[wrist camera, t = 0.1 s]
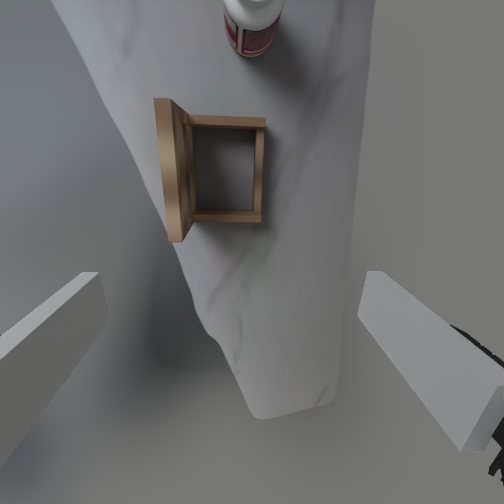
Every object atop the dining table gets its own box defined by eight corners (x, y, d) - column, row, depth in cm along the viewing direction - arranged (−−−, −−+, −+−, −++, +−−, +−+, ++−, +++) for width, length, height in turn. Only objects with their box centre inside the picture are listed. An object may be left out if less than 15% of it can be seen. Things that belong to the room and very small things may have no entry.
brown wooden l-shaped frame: (180, 116, 33) (153, 97, 22) (262, 119, 34) (276, 103, 23) (187, 216, 39) (168, 242, 27) (258, 217, 39) (268, 242, 28)
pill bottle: (282, 12, 30) (308, -60, 20) (262, 68, 32) (275, 28, 22) (235, -17, 29) (236, -110, 18) (217, 43, 31) (209, -12, 20)
